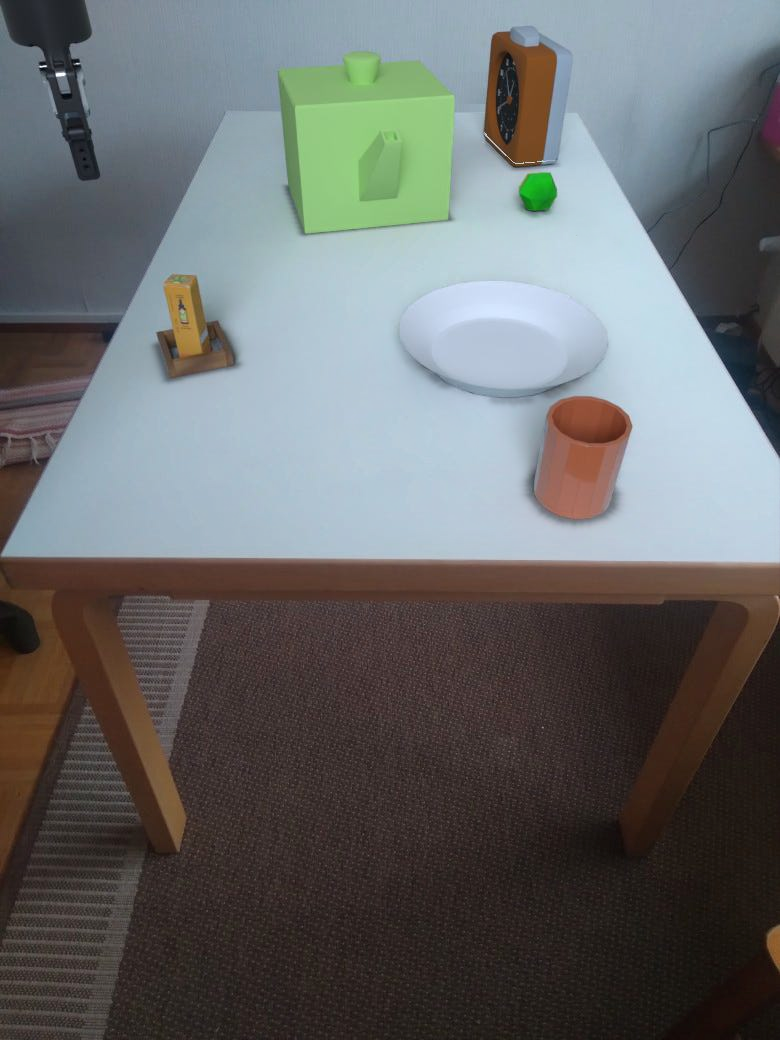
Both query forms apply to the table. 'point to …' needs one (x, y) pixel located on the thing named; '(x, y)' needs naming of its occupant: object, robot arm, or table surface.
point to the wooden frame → (200, 360)
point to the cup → (581, 456)
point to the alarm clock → (526, 95)
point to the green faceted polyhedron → (538, 191)
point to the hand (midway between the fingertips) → (87, 165)
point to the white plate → (503, 337)
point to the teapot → (367, 143)
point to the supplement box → (187, 315)
